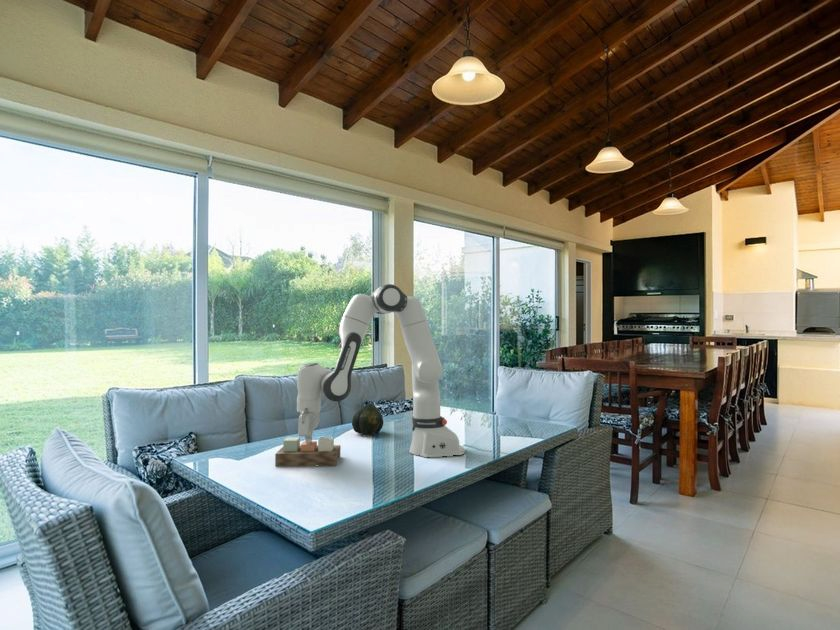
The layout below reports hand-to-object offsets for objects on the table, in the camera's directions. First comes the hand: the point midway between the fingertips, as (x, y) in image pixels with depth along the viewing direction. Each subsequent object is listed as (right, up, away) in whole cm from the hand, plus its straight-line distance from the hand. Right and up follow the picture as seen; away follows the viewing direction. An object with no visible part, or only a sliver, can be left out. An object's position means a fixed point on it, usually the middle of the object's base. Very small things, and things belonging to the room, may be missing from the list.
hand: (308, 442), depth 186 cm
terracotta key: (0, -5, 0) cm, 5 cm away
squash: (+17, -8, +45) cm, 49 cm away
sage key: (-6, -4, 0) cm, 7 cm away
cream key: (+7, -4, 0) cm, 7 cm away
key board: (0, -7, 0) cm, 7 cm away
